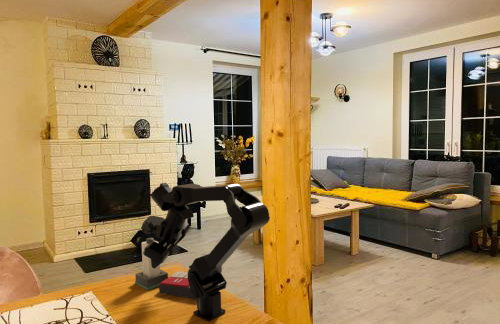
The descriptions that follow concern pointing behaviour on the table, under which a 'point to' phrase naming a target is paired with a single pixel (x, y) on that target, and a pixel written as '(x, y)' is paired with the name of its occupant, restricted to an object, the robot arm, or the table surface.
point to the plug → (148, 262)
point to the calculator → (177, 285)
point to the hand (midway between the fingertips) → (160, 258)
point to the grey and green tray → (150, 280)
